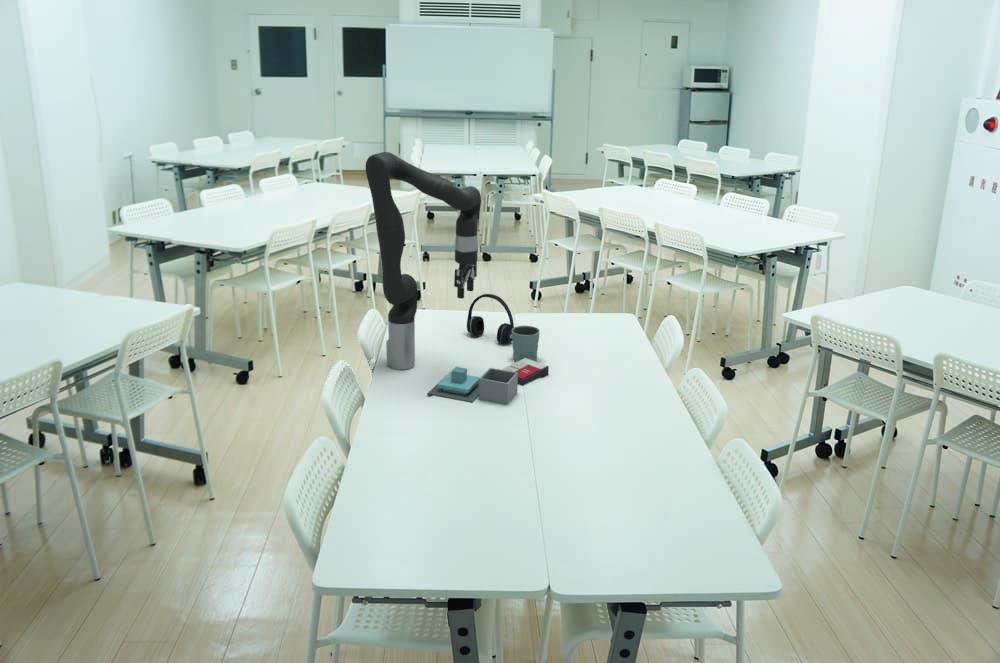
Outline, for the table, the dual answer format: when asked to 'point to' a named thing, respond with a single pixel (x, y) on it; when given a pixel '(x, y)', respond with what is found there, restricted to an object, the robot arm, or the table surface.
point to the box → (498, 386)
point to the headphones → (477, 324)
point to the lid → (458, 381)
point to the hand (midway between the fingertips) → (465, 294)
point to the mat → (455, 394)
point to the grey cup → (525, 342)
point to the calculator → (528, 370)
